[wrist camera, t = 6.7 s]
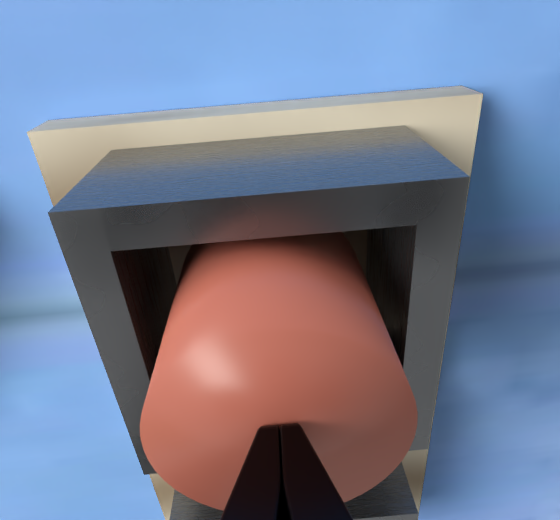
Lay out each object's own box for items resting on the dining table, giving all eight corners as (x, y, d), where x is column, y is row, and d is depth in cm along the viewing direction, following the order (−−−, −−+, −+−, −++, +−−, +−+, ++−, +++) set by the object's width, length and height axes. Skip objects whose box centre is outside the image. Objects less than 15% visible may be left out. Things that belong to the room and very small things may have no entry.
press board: (408, 497, 25) (416, 524, 24) (179, 518, 25) (175, 546, 23) (461, 85, 14) (483, 93, 12) (48, 120, 14) (27, 132, 12)
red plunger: (359, 348, 15) (406, 505, 10) (197, 362, 15) (170, 526, 10) (363, 196, 12) (431, 315, 8) (163, 213, 12) (105, 344, 7)
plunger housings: (376, 521, 23) (401, 625, 19) (214, 536, 23) (206, 643, 19) (404, 125, 13) (469, 176, 9) (111, 150, 13) (48, 212, 9)
